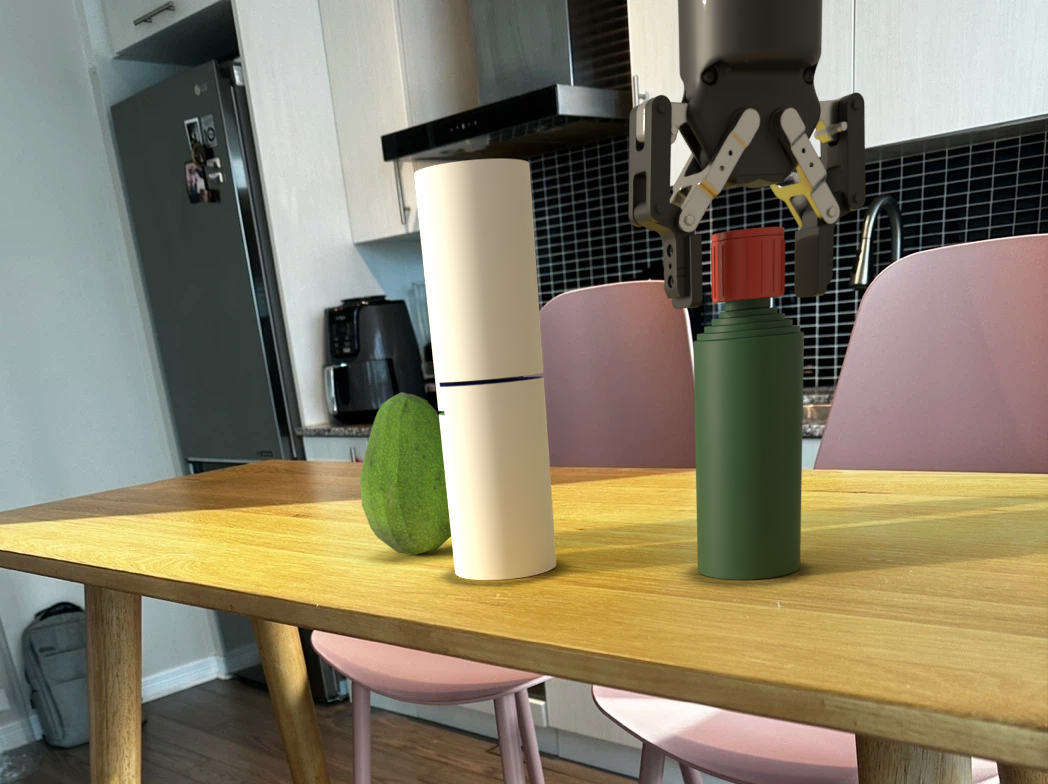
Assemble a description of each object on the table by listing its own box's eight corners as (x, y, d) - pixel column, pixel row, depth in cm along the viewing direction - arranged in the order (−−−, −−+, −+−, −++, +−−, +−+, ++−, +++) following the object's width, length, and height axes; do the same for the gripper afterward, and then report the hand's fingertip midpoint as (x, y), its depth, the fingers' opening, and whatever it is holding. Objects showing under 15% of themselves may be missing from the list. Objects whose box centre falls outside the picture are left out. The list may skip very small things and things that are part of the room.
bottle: (760, 553, 70) (760, 247, 63) (821, 568, 64) (829, 235, 58) (678, 567, 68) (670, 253, 61) (734, 585, 62) (732, 241, 55)
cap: (738, 300, 58) (738, 228, 57) (698, 304, 61) (697, 237, 60) (798, 294, 59) (799, 225, 58) (756, 299, 63) (756, 233, 62)
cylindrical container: (498, 584, 67) (460, 156, 59) (435, 572, 73) (391, 177, 64) (577, 563, 72) (553, 160, 63) (512, 552, 77) (481, 179, 68)
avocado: (431, 566, 75) (411, 394, 71) (349, 562, 79) (326, 399, 75) (491, 543, 81) (476, 384, 77) (412, 541, 85) (394, 389, 81)
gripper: (814, -1, 60) (809, 297, 66) (596, -7, 55) (611, 315, 61) (907, -48, 53) (892, 289, 59) (668, -59, 49) (677, 308, 54)
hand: (749, 302), depth 60 cm, fingers open, 8 cm apart
